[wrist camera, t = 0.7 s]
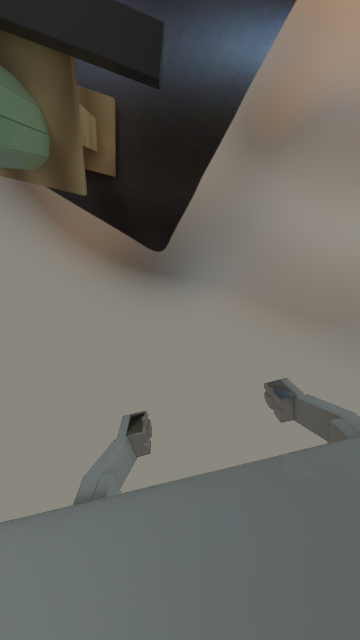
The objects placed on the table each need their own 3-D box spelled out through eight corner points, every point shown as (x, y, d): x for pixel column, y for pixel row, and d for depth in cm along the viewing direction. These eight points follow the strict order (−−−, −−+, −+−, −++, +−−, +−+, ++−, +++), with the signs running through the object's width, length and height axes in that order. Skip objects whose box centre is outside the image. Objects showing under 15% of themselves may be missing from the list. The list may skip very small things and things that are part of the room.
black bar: (-116, -15, 14) (-159, -45, 12) (-152, -98, 12) (-209, -149, 10) (159, 90, 18) (159, 79, 16) (164, 40, 16) (164, 22, 14)
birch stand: (57, 172, 40) (-46, 165, 20) (38, 56, 31) (-193, -175, 11) (120, 188, 43) (84, 195, 23) (120, 86, 34) (59, -53, 13)
